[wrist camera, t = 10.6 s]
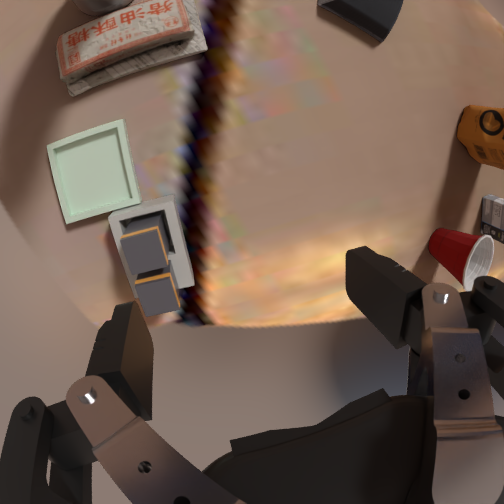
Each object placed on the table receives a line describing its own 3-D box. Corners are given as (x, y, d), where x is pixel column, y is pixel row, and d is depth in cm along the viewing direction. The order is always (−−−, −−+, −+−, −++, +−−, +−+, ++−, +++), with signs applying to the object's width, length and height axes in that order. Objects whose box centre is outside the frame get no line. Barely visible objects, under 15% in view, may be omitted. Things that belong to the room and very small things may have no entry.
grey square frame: (115, 209, 35) (97, 231, 27) (174, 194, 36) (172, 211, 28) (138, 283, 39) (130, 320, 31) (192, 271, 40) (197, 306, 32)
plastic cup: (455, 250, 52) (495, 274, 41) (422, 275, 52) (462, 304, 41) (452, 206, 47) (498, 225, 37) (417, 229, 47) (464, 254, 36)
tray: (51, 144, 29) (46, 145, 28) (124, 119, 31) (122, 118, 29) (70, 220, 34) (66, 224, 32) (142, 200, 35) (140, 203, 34)
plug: (131, 218, 35) (119, 240, 27) (161, 210, 35) (157, 230, 28) (140, 248, 36) (131, 275, 29) (170, 240, 37) (168, 266, 30)
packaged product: (58, 96, 24) (47, 28, 20) (72, 100, 28) (61, 38, 24) (211, 42, 26) (193, -23, 22) (207, 53, 30) (191, -7, 26)
